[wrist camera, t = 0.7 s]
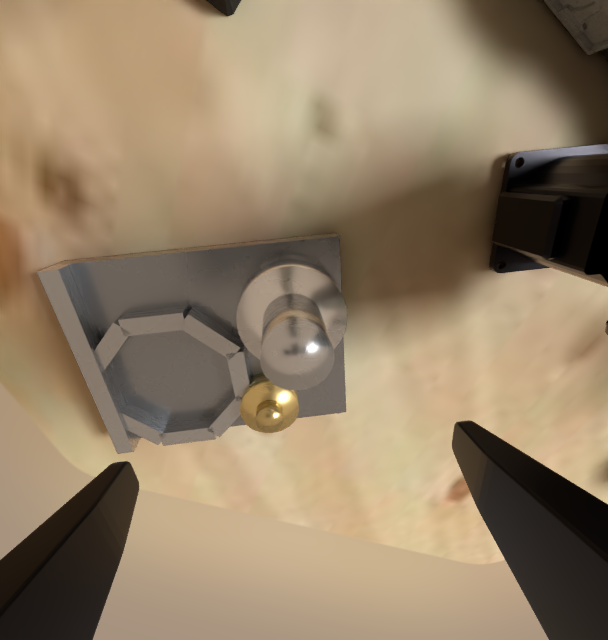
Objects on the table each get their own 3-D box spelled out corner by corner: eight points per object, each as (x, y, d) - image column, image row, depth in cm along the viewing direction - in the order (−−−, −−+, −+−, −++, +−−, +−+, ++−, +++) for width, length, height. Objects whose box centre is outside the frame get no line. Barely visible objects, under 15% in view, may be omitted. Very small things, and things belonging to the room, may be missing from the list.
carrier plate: (336, 232, 18) (349, 245, 15) (343, 402, 23) (354, 438, 20) (63, 260, 18) (17, 280, 14) (131, 429, 23) (108, 470, 19)
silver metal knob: (340, 254, 18) (366, 286, 13) (343, 349, 20) (366, 406, 15) (230, 266, 18) (213, 302, 13) (247, 360, 20) (239, 422, 15)
